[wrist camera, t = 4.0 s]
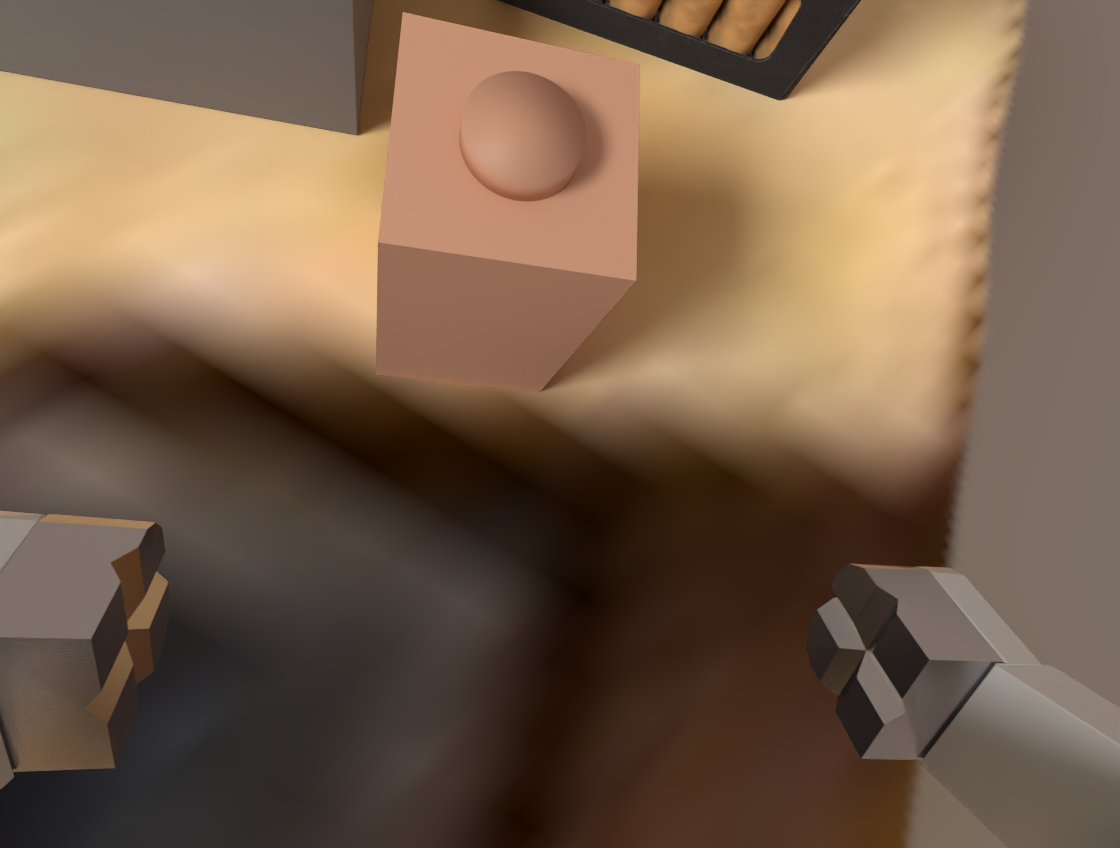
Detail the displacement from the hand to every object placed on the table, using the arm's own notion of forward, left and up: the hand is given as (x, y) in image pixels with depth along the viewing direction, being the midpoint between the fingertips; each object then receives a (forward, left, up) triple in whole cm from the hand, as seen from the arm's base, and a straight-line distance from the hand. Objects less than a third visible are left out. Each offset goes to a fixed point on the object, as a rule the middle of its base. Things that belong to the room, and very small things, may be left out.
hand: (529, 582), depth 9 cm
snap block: (-2, +7, -11) cm, 13 cm away
